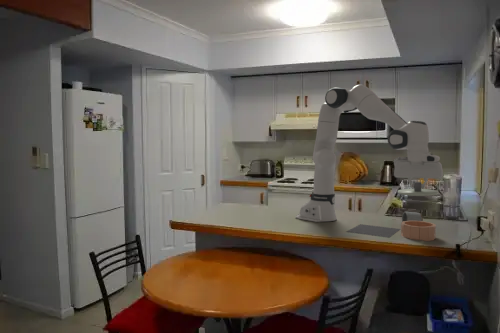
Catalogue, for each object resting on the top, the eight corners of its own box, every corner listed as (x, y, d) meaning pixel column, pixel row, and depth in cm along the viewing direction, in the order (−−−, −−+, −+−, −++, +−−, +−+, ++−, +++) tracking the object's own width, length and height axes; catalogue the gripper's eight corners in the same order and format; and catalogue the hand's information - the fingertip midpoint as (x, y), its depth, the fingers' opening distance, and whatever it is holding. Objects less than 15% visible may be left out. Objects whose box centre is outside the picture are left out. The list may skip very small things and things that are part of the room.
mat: (345, 232, 193) (346, 231, 193) (360, 225, 210) (360, 224, 210) (389, 238, 182) (389, 237, 182) (400, 230, 199) (400, 229, 199)
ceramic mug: (423, 228, 202) (423, 212, 202) (406, 228, 202) (407, 212, 202) (414, 224, 213) (415, 209, 213) (399, 224, 213) (399, 209, 213)
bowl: (398, 238, 183) (398, 224, 183) (405, 232, 195) (406, 219, 194) (431, 242, 175) (432, 228, 175) (437, 235, 187) (438, 222, 186)
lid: (393, 194, 182) (393, 183, 182) (402, 189, 196) (402, 179, 196) (434, 196, 172) (434, 185, 172) (441, 191, 186) (441, 180, 186)
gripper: (392, 157, 186) (392, 187, 187) (441, 157, 175) (441, 190, 176) (395, 156, 191) (395, 186, 192) (443, 156, 180) (443, 188, 181)
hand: (417, 188), depth 184 cm, fingers closed on lid, 3 cm apart
